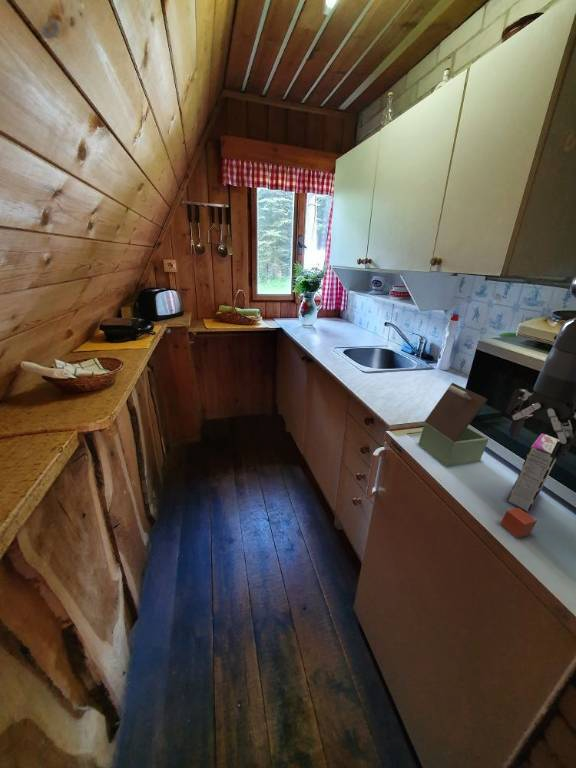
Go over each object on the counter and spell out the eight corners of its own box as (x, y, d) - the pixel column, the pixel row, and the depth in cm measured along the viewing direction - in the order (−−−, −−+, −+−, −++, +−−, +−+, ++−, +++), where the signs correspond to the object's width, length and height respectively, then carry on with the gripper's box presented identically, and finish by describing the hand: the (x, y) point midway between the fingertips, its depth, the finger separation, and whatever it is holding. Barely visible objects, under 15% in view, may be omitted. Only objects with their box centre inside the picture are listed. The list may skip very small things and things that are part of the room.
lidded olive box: (449, 440, 103) (457, 419, 100) (480, 460, 93) (488, 438, 90) (418, 444, 98) (424, 423, 95) (446, 466, 88) (454, 443, 85)
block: (512, 520, 70) (518, 507, 69) (529, 534, 67) (537, 520, 66) (500, 523, 69) (506, 510, 68) (517, 538, 66) (524, 524, 64)
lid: (453, 383, 93) (444, 376, 90) (487, 399, 83) (478, 392, 80) (425, 422, 95) (416, 417, 93) (455, 442, 85) (445, 437, 83)
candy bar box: (517, 484, 84) (541, 432, 78) (539, 494, 80) (566, 441, 74) (505, 500, 77) (530, 445, 71) (528, 513, 73) (557, 456, 67)
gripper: (624, 387, 54) (583, 464, 60) (540, 362, 66) (513, 427, 72) (598, 389, 51) (558, 468, 57) (516, 362, 64) (490, 430, 70)
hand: (533, 446), depth 65 cm, fingers open, 8 cm apart
